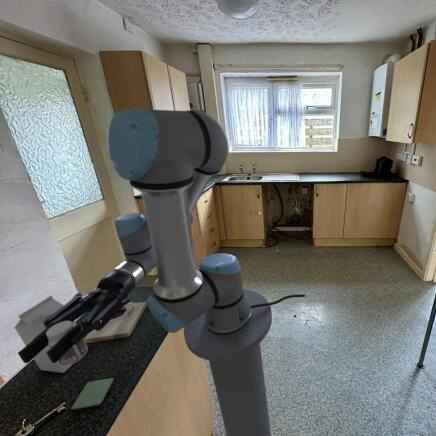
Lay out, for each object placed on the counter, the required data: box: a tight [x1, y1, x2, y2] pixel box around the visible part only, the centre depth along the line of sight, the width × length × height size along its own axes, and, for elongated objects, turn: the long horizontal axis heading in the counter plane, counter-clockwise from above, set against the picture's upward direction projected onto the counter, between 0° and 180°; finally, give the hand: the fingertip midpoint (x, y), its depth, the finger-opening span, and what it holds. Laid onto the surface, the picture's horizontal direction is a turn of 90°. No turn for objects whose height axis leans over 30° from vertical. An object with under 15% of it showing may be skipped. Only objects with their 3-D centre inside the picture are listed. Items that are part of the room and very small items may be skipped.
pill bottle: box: [46, 321, 89, 366], centre depth 50 cm, size 5×5×8 cm
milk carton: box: [14, 295, 89, 374], centre depth 62 cm, size 7×7×19 cm
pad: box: [70, 377, 115, 411], centre depth 56 cm, size 6×6×1 cm
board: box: [83, 301, 148, 344], centre depth 78 cm, size 14×16×2 cm
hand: (37, 357), depth 45 cm, fingers closed on pill bottle, 5 cm apart
